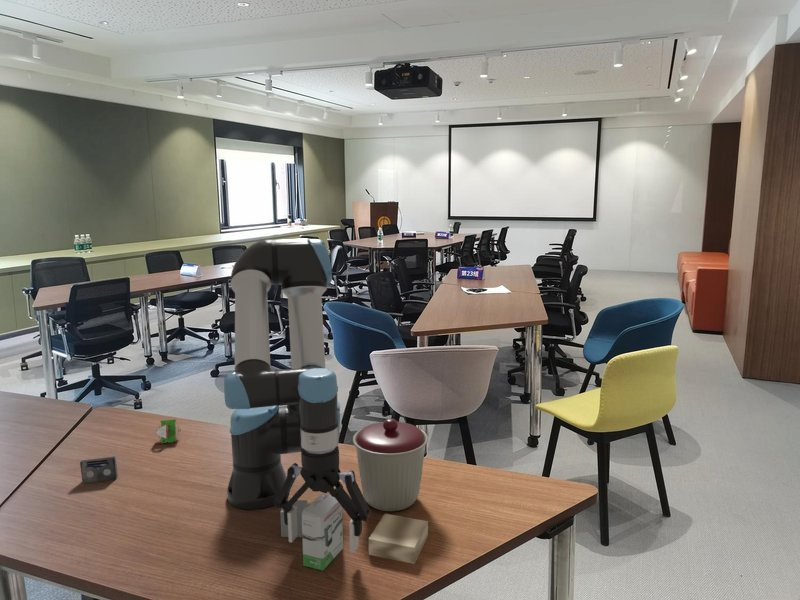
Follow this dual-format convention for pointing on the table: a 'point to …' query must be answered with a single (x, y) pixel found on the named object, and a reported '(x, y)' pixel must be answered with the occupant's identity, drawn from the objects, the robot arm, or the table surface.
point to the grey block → (300, 507)
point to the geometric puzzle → (167, 431)
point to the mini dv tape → (98, 469)
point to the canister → (390, 463)
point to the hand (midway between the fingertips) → (323, 543)
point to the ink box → (322, 532)
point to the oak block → (398, 538)
